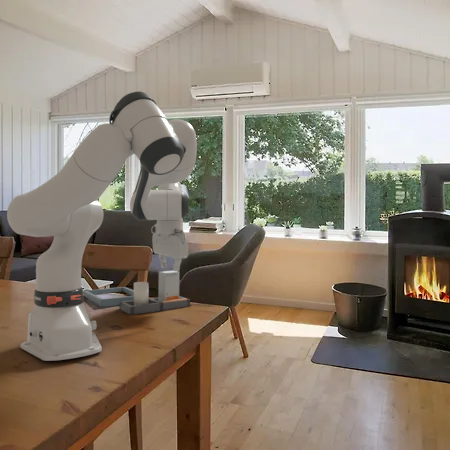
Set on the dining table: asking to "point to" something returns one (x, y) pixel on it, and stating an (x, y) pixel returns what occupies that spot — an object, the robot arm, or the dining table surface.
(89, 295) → the slate tray
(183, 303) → the slot holder
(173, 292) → the skincare box
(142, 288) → the ceramic jar
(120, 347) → the dining table surface
